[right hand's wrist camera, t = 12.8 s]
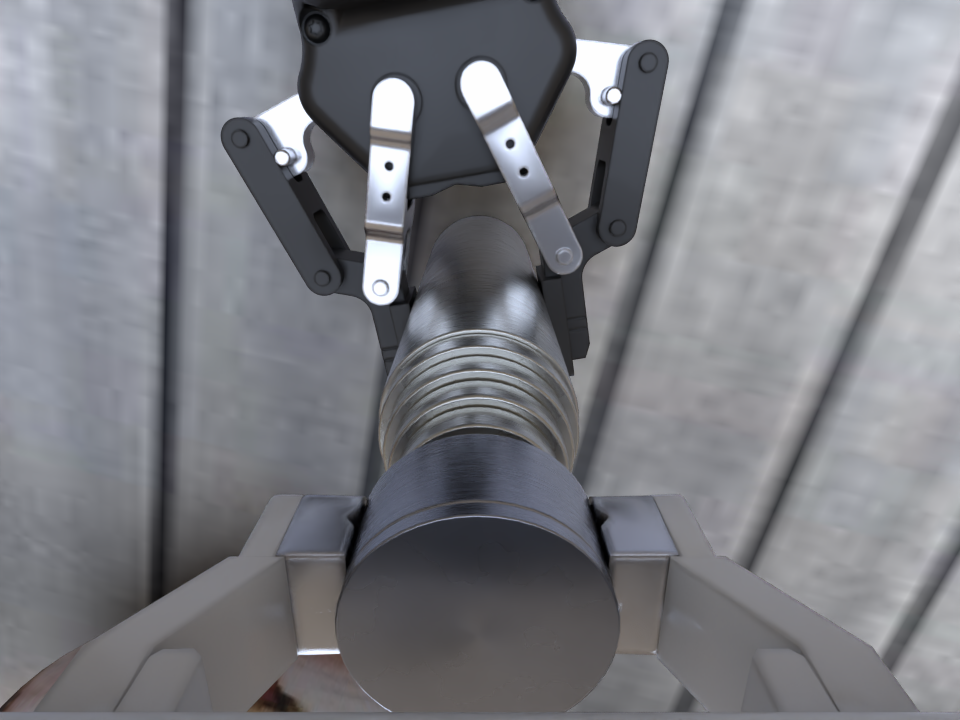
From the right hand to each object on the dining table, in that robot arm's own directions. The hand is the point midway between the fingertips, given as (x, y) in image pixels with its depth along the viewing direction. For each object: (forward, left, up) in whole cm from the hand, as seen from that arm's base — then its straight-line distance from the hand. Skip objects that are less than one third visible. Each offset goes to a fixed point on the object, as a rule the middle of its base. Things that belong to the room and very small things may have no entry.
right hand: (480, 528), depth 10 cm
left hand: (-3, 0, -12) cm, 13 cm away
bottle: (0, 0, -19) cm, 19 cm away
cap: (0, 0, +2) cm, 2 cm away
